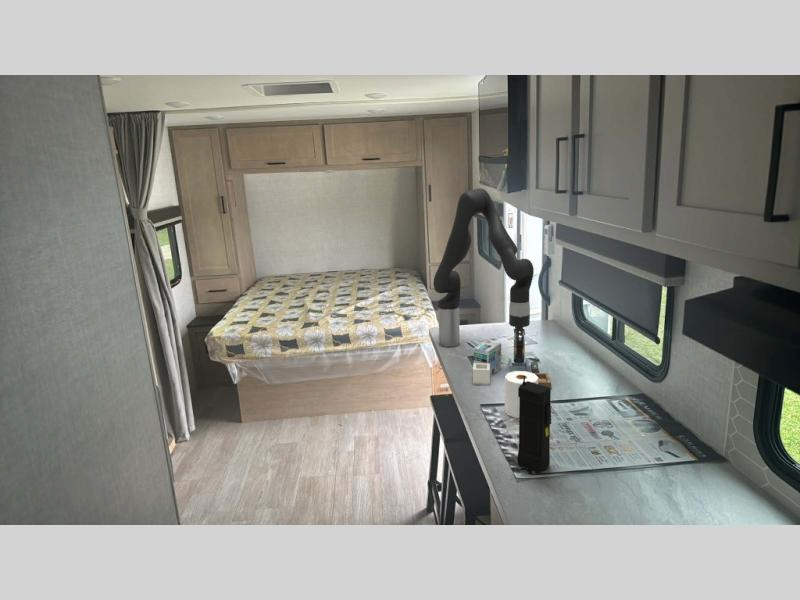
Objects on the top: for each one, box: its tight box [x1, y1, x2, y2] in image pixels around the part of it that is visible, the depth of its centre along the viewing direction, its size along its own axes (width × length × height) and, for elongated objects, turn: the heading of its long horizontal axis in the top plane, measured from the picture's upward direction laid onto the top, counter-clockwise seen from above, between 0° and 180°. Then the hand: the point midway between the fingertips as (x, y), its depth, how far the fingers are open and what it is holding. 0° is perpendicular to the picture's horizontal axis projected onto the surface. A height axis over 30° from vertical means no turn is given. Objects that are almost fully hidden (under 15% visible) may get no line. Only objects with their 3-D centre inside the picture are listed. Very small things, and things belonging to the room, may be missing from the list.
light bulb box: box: [473, 340, 502, 377], centre depth 200 cm, size 11×7×11 cm, turn 143°
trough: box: [534, 372, 552, 389], centre depth 187 cm, size 8×8×2 cm
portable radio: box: [517, 376, 552, 474], centre depth 135 cm, size 8×6×25 cm
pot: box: [472, 362, 491, 386], centre depth 191 cm, size 6×6×6 cm
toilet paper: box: [504, 371, 538, 419], centre depth 166 cm, size 10×10×12 cm
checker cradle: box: [505, 357, 541, 374], centre depth 198 cm, size 11×12×4 cm
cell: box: [513, 339, 526, 363], centre depth 197 cm, size 4×4×9 cm
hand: (519, 355), depth 197 cm, fingers closed on cell, 4 cm apart
